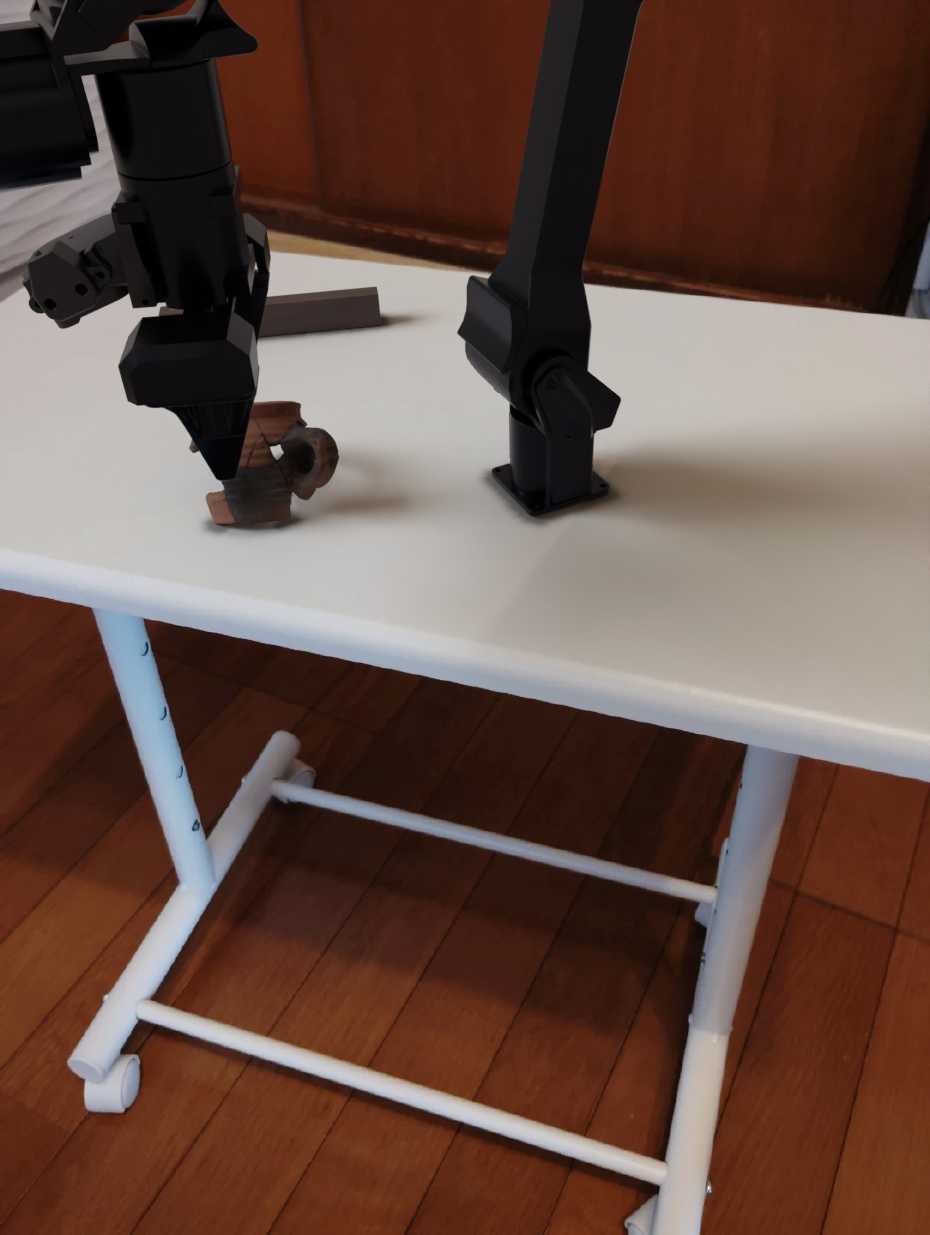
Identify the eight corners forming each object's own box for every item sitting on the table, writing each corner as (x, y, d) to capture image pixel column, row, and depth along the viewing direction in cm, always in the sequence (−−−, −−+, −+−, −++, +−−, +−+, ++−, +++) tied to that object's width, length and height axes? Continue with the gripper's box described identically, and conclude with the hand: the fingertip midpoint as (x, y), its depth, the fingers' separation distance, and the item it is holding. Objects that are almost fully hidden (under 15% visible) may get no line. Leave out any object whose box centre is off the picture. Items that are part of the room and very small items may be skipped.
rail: (381, 325, 96) (378, 294, 94) (165, 346, 94) (158, 315, 92) (379, 316, 97) (376, 286, 95) (167, 337, 95) (160, 306, 93)
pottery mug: (172, 530, 72) (155, 411, 71) (254, 516, 80) (241, 410, 79) (312, 522, 67) (298, 394, 65) (385, 508, 75) (373, 394, 74)
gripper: (49, 123, 57) (119, 376, 67) (-43, 241, 43) (64, 540, 53) (248, 110, 58) (288, 363, 68) (223, 222, 44) (278, 522, 54)
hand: (232, 437), depth 61 cm, fingers open, 9 cm apart
